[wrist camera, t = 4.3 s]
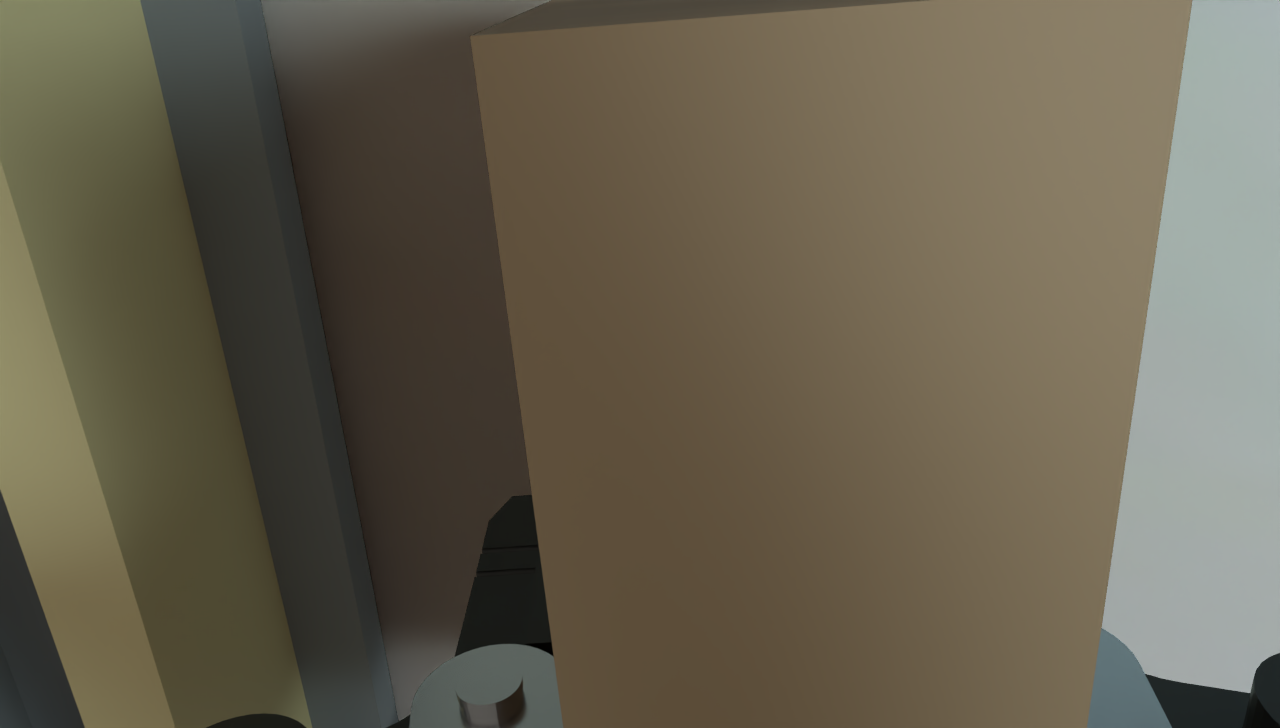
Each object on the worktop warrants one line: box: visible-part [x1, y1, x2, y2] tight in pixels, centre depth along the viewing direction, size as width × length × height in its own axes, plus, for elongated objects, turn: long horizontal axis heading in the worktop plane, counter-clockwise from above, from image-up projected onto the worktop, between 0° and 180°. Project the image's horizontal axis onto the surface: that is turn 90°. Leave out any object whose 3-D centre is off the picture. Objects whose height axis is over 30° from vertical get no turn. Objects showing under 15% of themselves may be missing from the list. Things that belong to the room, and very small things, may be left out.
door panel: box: [470, 0, 1192, 728], centre depth 10 cm, size 3×12×9 cm, turn 4°
